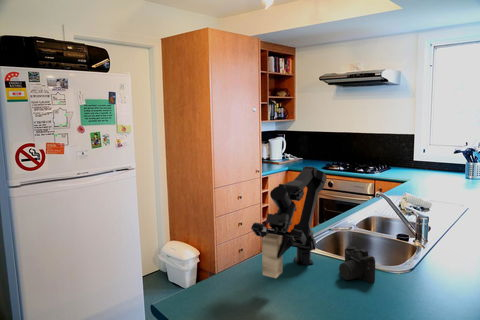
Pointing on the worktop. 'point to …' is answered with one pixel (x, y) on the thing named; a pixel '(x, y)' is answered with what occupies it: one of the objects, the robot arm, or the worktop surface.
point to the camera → (358, 265)
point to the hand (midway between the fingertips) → (270, 256)
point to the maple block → (271, 255)
